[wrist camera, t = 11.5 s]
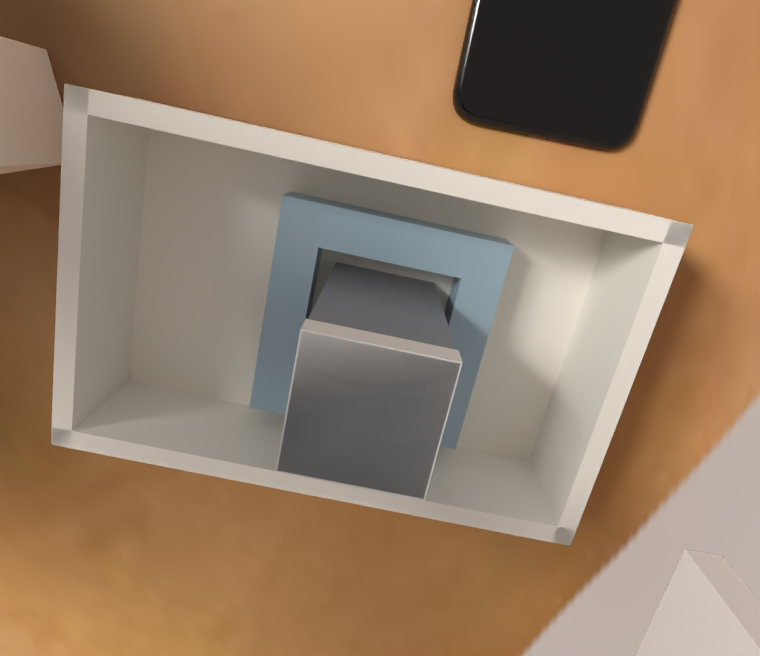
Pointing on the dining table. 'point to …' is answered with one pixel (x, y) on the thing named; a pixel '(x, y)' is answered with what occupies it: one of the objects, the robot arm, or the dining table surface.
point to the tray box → (303, 287)
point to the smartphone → (561, 67)
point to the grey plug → (370, 384)
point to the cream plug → (28, 109)
